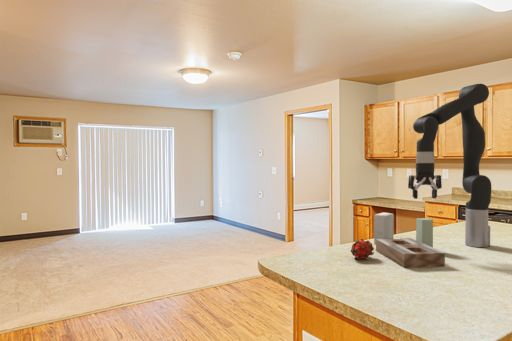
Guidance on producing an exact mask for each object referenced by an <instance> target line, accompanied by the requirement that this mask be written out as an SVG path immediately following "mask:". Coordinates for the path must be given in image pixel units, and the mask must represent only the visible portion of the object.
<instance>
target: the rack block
mask: <svg viewBox="0 0 512 341" xmlns="http://www.w3.org/2000/svg"><path fill="white" fill-rule="evenodd" d="M375 251H376V253H379V254H380V255H382V256H383V257H385V258H388V259H389V260H390V261H391V262H393V263H395V264H397V265H399V266H400V267H402V268H403V269H405V268H406V269H408V268H410V269H411V268H413V269H414V268H415V269H416V268H437V267H439V268H441V267H443V268H444V267H446V252H444V251H442V250H439V249H437V248H435V247H434V246H433V247H430V246H428V245H425V244H423V243H421V242H418V241H416V239H413V238H411V237H409V238H408V237H404V238H403V237H402V238H393V239H376V244H375Z"/></svg>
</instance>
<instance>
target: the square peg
mask: <svg viewBox="0 0 512 341" xmlns="http://www.w3.org/2000/svg"><path fill="white" fill-rule="evenodd" d="M415 220H416V224H415V227H416V228H415V232H416V233H415V240H416V241H418V242H421V243H423V244H425V245H428V246H430V247H433V248H434V241H433V240H434V220H433V219H431V218H428V217H422V218H421V217H417V218H416V219H415Z"/></svg>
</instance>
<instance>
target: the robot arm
mask: <svg viewBox="0 0 512 341" xmlns="http://www.w3.org/2000/svg"><path fill="white" fill-rule="evenodd" d="M489 95H490V90H489V87H488V86H487V85H486V84H484V83H476V84H475V83H474V84H471V85H466V86H463V87H462V88H460V90H459V92H458V98H456V99H454V100H451V101H449V102H447V103H445V104H443V105H441V106H439V107H438V108H435V109H434V110H433V111H431V112H429V113H426V114H425V115H421V116H420V117H418V118H417V119H416V120H415V121H414V122H413V125H412V128H413V131H414V132H415V133H417V134H422V137H421V138H419V139H418V140H417V141H416V155H415V175H413V174H411V175H410V174H409V175H408V183H407V184H408V186H407V187H408V189H409V190H410V189H411V191H412V198H413V199H415V200H416V199H418V197H419V196H418V194H419V193H418V191H419V190H418V189H419V187H421V186H425V185H426V186H429V187H431V198H432V199H437V197H438V190H439V189H442V188H443V186H442V185H443V184H442V175H440V174H436V175H435V141H436V137H437V135H438V131H439V126H440V125H442V124H444V123H446V122H448V121H450V120H451V119H453V118H454V117H455V116H457V115H458V114H461V115H460V117H461V130H462V131H461V132H462V134H461V135H462V148H463V149H462V154H463V155H462V156H463V159H462V160H463V167H462V168H463V169H462V181H461V183H462V188H463V190H464V192H466V193H468V194H470V198H469V200H468V201H466V202H465V221H464V222H465V225H464V226H465V227H464V228H465V229H464V230H465V231H464V232H465V234H464V237H465V239H464V240H465V241H464V243H465V245H466V246H469V247H475V248H487V247H491V225H489V206H490V204H491V200H492V180H490V178H489V177H488V176H487V175H483V174H481V173H480V162H481V159H482V157H483V155H484V152H485V149H486V133H485V130H484V127H483V126H482V124H481V123H480V121H479V120H478V118H477V116H476V113H475V106H477V105H480V104H482V103H484V102H486V101H487V100H488V98H489ZM434 180H435V181H434Z"/></svg>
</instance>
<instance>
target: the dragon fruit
mask: <svg viewBox="0 0 512 341" xmlns="http://www.w3.org/2000/svg"><path fill="white" fill-rule="evenodd" d="M374 251H375V248H374V246H373V243H372V242H370V240H364V239H363V238H361V239H360V240H356V241H355V242H354V243H352V245H351V249H350V252H351V254H352V256H354V260H361V259H364V260H368V259H369V258H370V256H372V255H373V256H374V254H375V252H374Z"/></svg>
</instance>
